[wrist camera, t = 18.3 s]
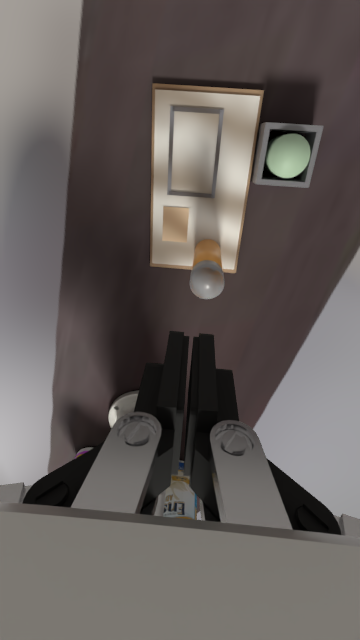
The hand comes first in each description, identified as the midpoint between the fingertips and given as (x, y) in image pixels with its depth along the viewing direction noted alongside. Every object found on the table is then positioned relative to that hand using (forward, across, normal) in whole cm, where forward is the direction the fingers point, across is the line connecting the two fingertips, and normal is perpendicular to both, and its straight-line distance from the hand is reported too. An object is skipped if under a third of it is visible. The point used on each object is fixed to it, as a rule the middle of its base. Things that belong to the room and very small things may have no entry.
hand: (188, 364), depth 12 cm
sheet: (+29, 0, -3) cm, 29 cm away
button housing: (+29, -8, -7) cm, 31 cm away
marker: (+28, -2, +4) cm, 29 cm away
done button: (+29, -8, -7) cm, 31 cm away
